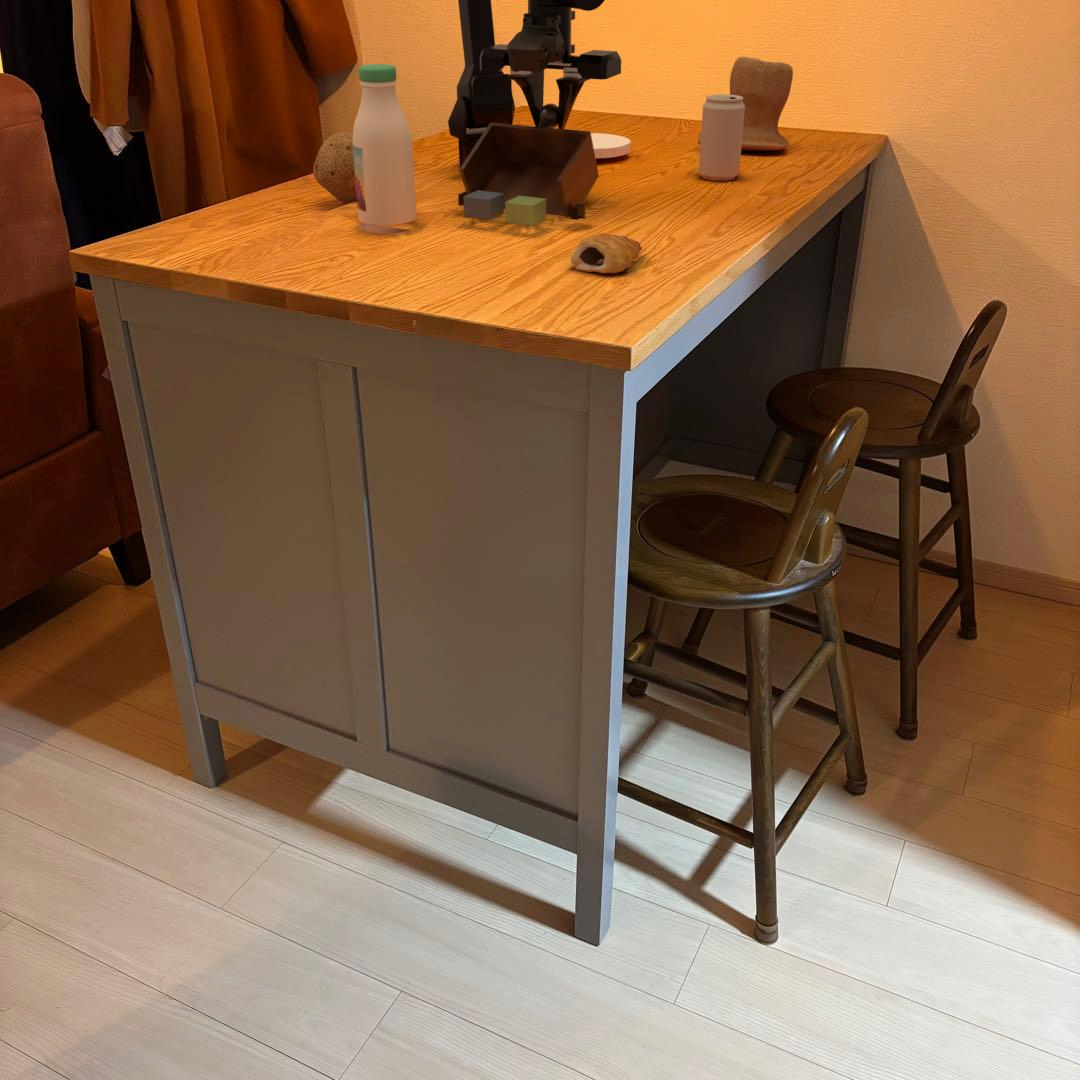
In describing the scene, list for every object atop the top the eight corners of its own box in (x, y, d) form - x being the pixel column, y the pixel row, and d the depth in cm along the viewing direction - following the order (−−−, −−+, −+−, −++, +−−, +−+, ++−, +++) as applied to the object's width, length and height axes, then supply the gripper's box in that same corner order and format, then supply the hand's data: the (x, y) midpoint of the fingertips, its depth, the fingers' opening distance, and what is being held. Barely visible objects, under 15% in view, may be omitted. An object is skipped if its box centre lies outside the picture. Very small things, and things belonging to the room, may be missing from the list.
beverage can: (737, 182, 166) (745, 100, 160) (696, 180, 168) (702, 98, 161) (739, 174, 172) (746, 93, 166) (699, 172, 173) (705, 92, 167)
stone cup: (791, 145, 192) (801, 54, 185) (784, 158, 183) (795, 62, 175) (707, 140, 196) (714, 50, 188) (696, 152, 186) (703, 58, 179)
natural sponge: (305, 209, 152) (296, 135, 147) (336, 195, 159) (329, 124, 154) (362, 215, 149) (355, 139, 144) (391, 200, 156) (386, 128, 151)
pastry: (608, 251, 134) (609, 220, 132) (655, 260, 131) (657, 228, 129) (566, 269, 127) (567, 237, 125) (614, 279, 124) (616, 246, 122)
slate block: (478, 220, 147) (464, 226, 144) (477, 190, 145) (463, 196, 142) (504, 223, 145) (490, 230, 142) (504, 193, 143) (489, 199, 140)
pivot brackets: (455, 214, 150) (454, 193, 148) (463, 210, 151) (462, 190, 150) (581, 230, 142) (582, 209, 141) (588, 226, 144) (589, 205, 143)
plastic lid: (646, 158, 182) (647, 142, 181) (580, 168, 175) (580, 152, 174) (597, 145, 192) (597, 130, 191) (532, 153, 185) (532, 138, 184)
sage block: (519, 225, 144) (505, 232, 141) (519, 195, 142) (505, 201, 139) (546, 229, 143) (532, 236, 140) (546, 198, 141) (532, 205, 138)
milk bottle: (426, 223, 145) (418, 63, 135) (402, 237, 139) (391, 71, 129) (375, 218, 148) (363, 60, 137) (349, 232, 141) (334, 68, 131)
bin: (472, 212, 150) (457, 164, 143) (516, 143, 157) (504, 94, 150) (571, 225, 144) (560, 175, 137) (612, 152, 151) (603, 102, 144)
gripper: (457, 7, 138) (462, 134, 146) (590, 13, 131) (588, 146, 139) (497, -2, 146) (500, 119, 154) (624, 4, 139) (620, 130, 147)
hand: (549, 128), depth 149 cm, fingers closed on bin, 3 cm apart
